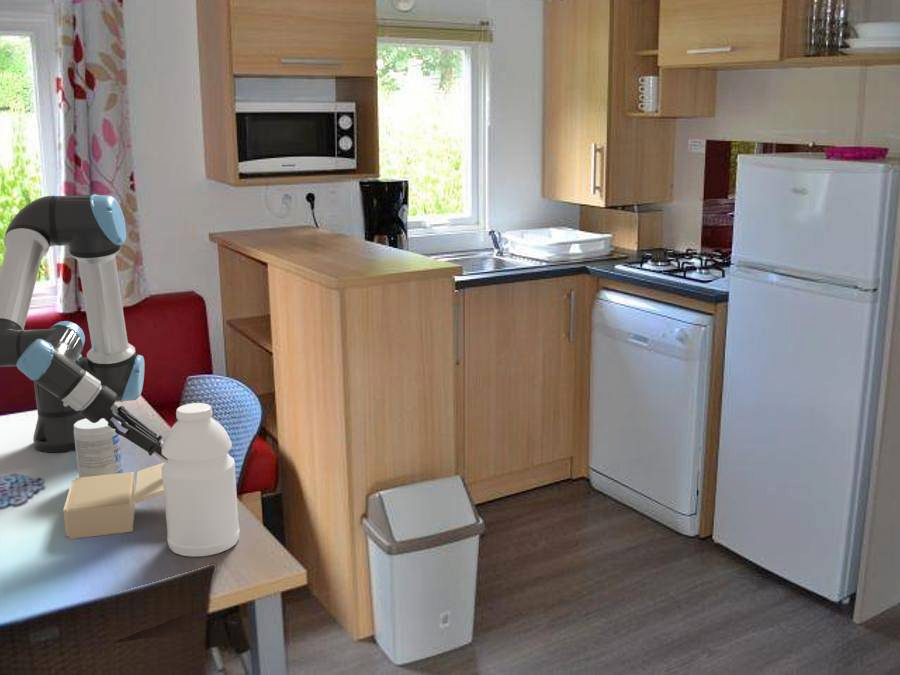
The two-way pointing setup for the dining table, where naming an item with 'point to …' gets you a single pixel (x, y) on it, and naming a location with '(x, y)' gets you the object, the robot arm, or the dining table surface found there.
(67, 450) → the robot arm
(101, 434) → the supplement tub
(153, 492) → the flap
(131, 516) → the carton
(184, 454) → the bottle
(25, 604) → the dining table surface
